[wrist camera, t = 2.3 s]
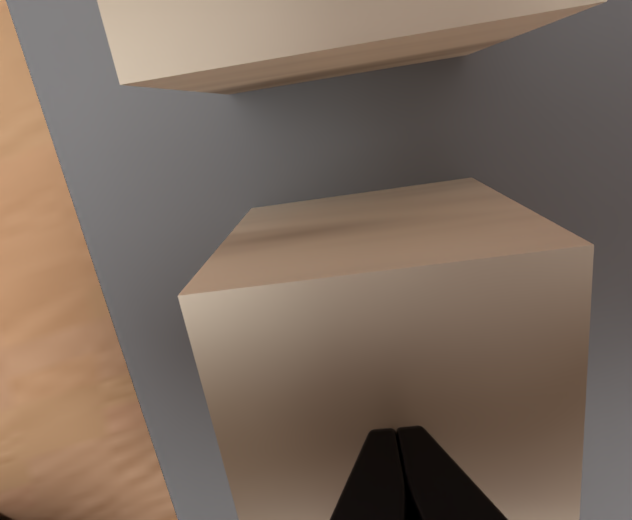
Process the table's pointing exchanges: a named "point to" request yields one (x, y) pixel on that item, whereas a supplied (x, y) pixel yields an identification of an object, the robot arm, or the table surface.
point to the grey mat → (338, 194)
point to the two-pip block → (303, 37)
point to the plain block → (395, 345)
